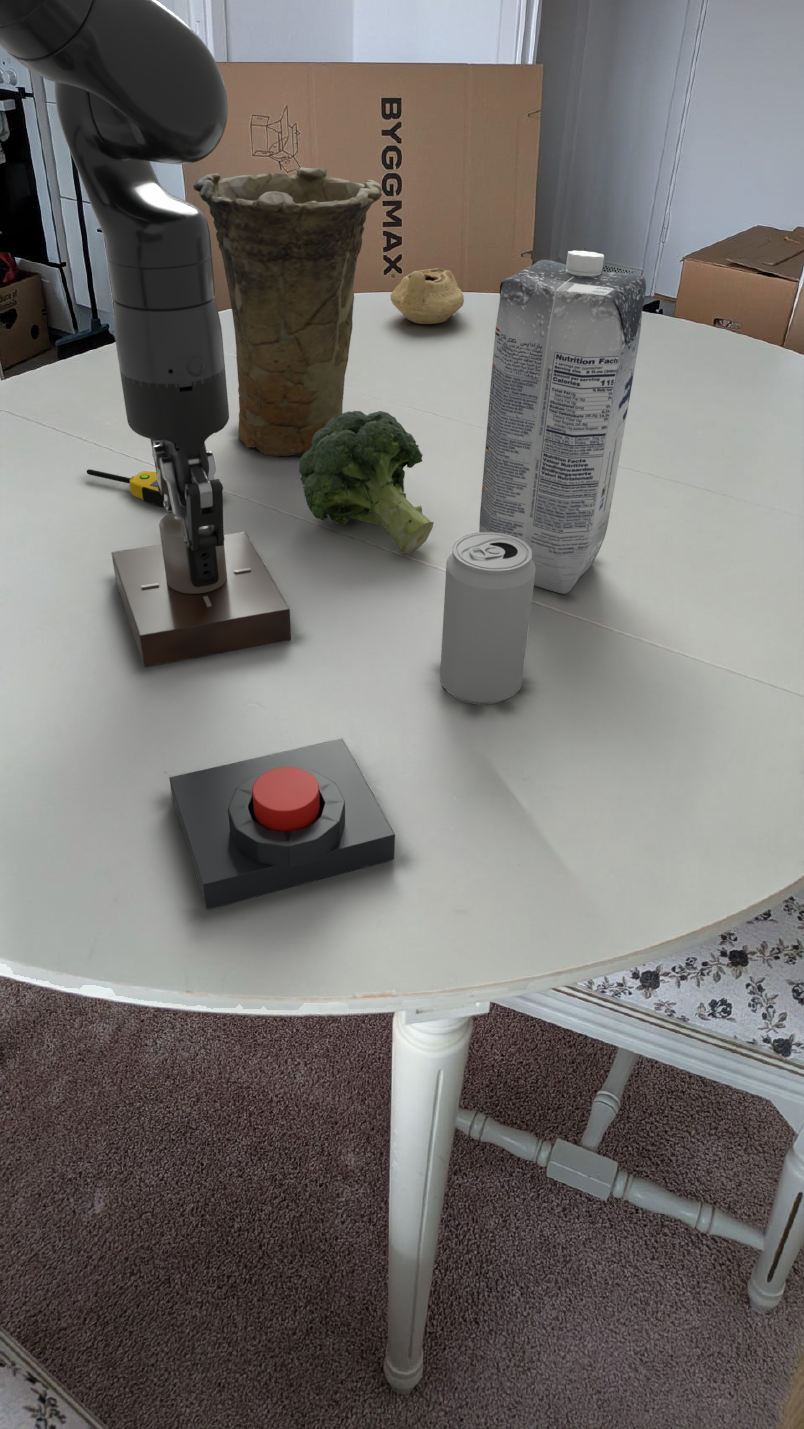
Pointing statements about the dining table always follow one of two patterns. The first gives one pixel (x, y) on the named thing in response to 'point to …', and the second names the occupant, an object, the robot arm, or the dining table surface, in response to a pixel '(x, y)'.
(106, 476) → the yellow walkie talkie
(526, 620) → the beverage can
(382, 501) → the vegetable
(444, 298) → the oil lamp
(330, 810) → the button block
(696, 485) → the dining table surface
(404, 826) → the dining table surface
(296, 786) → the button
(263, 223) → the vase
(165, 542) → the knob
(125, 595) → the panel
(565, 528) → the juice carton
